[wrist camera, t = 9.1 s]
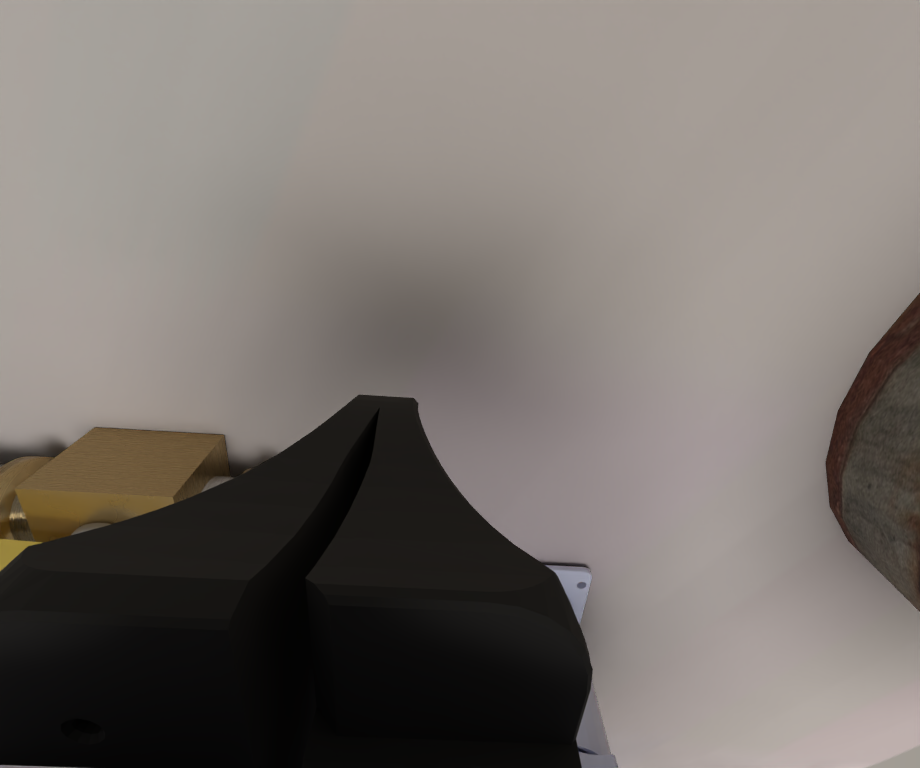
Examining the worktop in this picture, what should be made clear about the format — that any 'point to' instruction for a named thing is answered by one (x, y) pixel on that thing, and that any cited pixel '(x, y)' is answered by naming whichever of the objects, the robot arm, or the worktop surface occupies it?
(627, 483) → the worktop surface
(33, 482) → the valve body
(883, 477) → the barrel
